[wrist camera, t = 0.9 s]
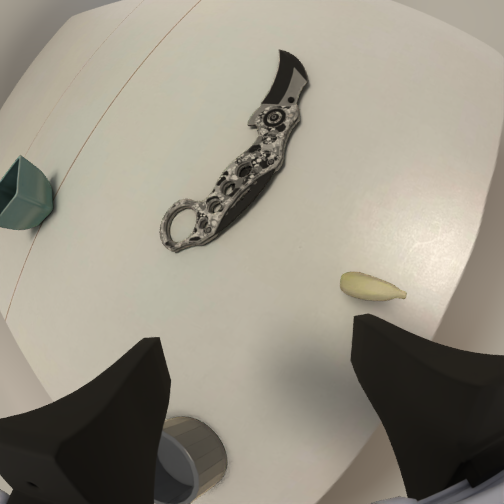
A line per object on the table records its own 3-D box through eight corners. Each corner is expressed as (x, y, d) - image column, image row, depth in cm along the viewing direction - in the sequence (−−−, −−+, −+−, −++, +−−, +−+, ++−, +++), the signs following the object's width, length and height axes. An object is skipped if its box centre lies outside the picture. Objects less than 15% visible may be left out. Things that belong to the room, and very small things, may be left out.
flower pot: (32, 241, 45) (-9, 226, 37) (32, 202, 49) (-5, 185, 40) (60, 214, 43) (16, 194, 35) (59, 174, 47) (20, 153, 39)
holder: (243, 456, 25) (216, 476, 20) (199, 500, 25) (170, 521, 20) (180, 400, 29) (146, 408, 24) (144, 448, 29) (111, 460, 24)
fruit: (338, 265, 26) (330, 285, 26) (354, 267, 18) (343, 296, 18) (379, 282, 25) (371, 301, 25) (410, 291, 17) (399, 318, 17)
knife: (277, 46, 34) (347, 58, 30) (281, 54, 36) (349, 67, 31) (144, 231, 34) (203, 277, 29) (153, 235, 36) (211, 280, 31)
